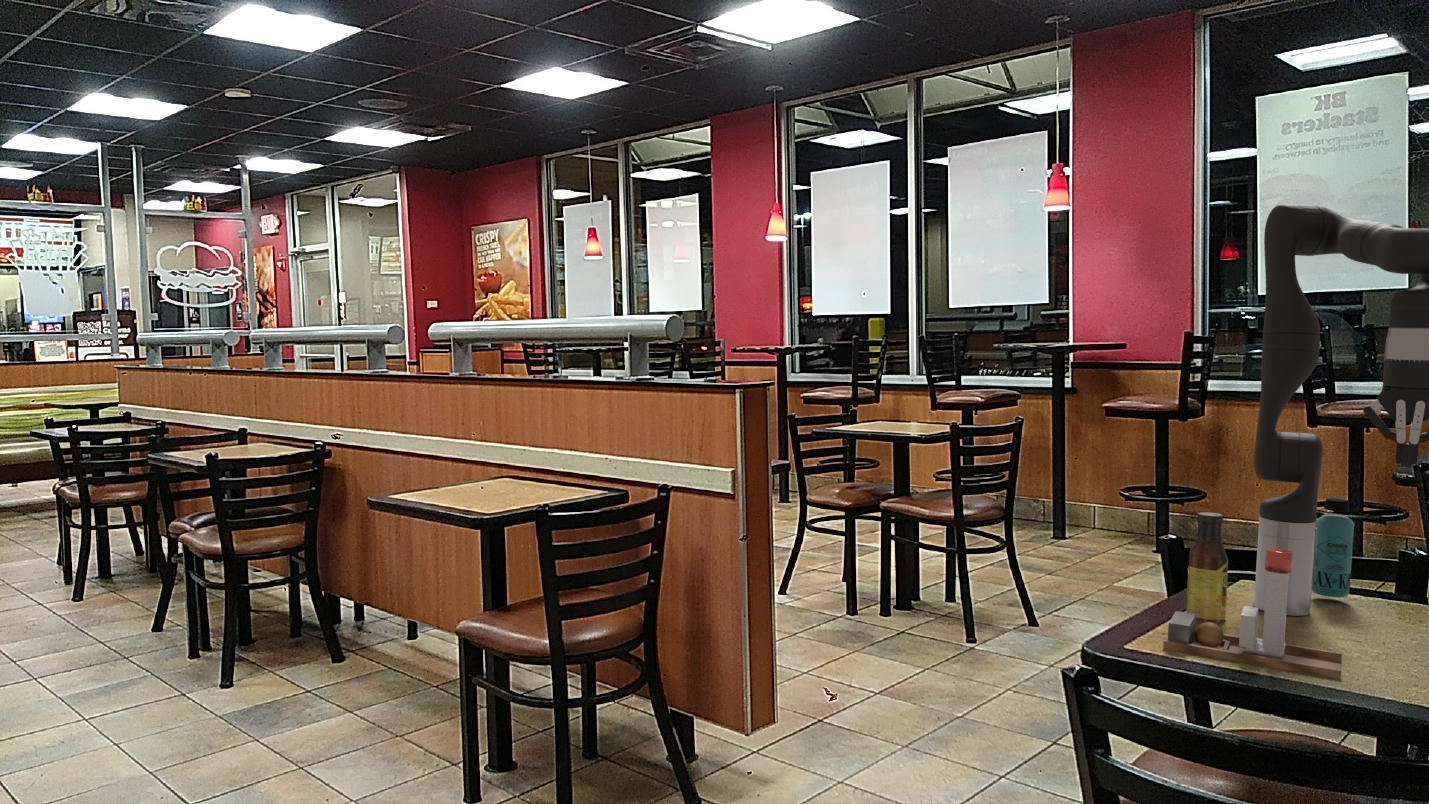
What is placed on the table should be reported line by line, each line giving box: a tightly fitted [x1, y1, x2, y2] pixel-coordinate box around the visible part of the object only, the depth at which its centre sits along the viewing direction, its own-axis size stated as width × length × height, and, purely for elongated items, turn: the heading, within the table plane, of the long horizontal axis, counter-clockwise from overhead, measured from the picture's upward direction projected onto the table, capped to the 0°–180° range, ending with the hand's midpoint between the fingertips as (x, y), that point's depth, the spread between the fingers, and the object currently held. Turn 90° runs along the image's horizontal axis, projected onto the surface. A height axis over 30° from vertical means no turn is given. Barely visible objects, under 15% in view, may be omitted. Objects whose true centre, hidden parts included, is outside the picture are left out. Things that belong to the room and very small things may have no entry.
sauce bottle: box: [1186, 511, 1229, 624], centre depth 177 cm, size 7×6×20 cm
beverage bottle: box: [1312, 497, 1356, 598], centre depth 194 cm, size 6×7×20 cm
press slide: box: [1239, 549, 1293, 660], centre depth 156 cm, size 6×7×16 cm
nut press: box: [1162, 610, 1343, 681], centre depth 158 cm, size 24×10×6 cm, turn 58°
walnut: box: [1196, 622, 1224, 647], centre depth 161 cm, size 4×4×4 cm
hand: (1405, 466), depth 159 cm, fingers closed
